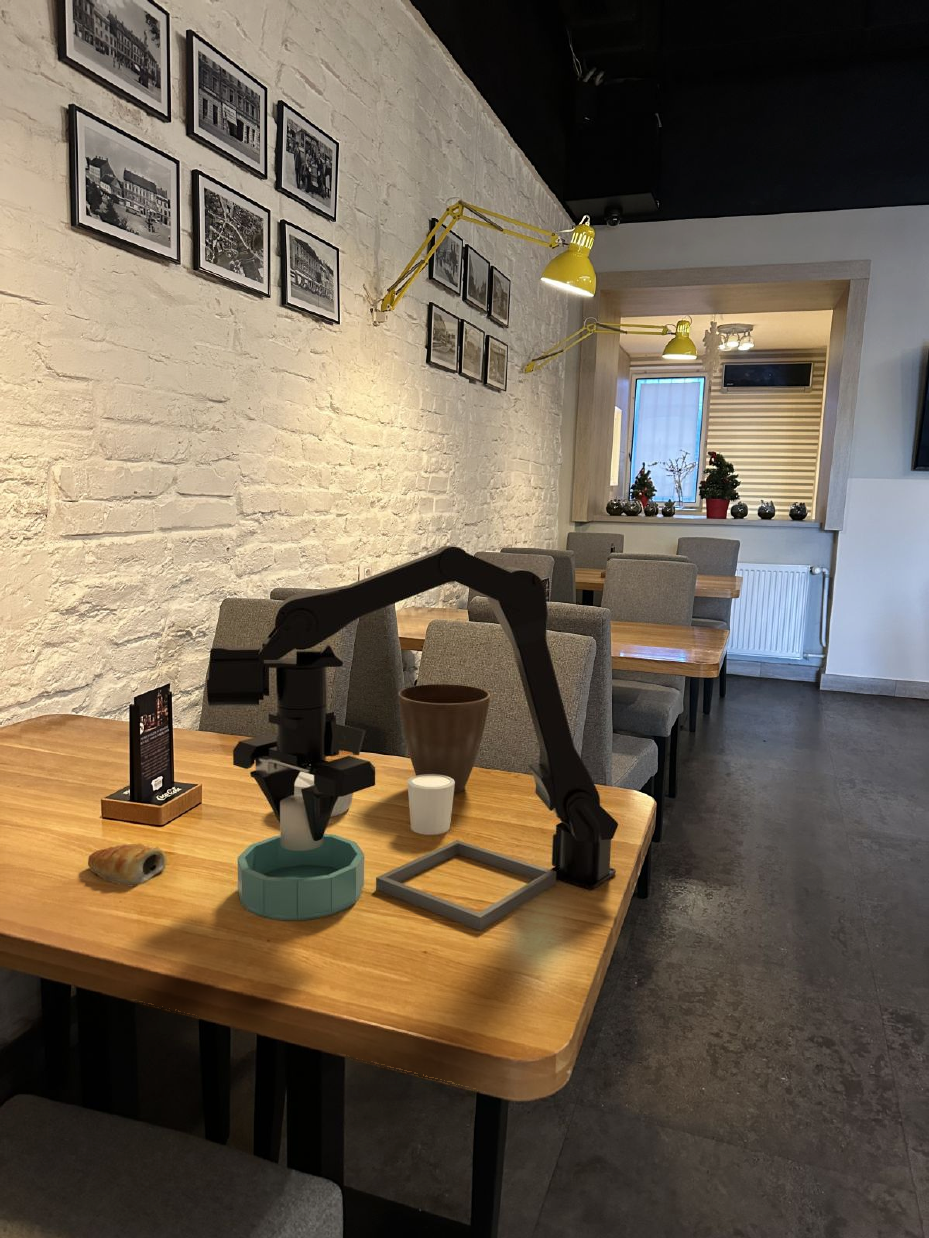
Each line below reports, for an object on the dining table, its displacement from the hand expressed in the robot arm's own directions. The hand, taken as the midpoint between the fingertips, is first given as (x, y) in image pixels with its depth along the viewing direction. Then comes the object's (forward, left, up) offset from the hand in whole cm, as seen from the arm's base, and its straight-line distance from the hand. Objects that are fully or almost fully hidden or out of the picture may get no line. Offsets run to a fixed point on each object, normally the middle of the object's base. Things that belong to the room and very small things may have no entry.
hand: (302, 834), depth 99 cm
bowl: (0, 0, -7) cm, 7 cm away
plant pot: (+12, -41, -7) cm, 43 cm away
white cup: (+2, -26, -7) cm, 27 cm away
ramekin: (+20, -21, -7) cm, 30 cm away
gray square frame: (-14, -14, -7) cm, 21 cm away
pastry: (+20, +10, -8) cm, 24 cm away
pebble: (0, 0, -1) cm, 1 cm away
